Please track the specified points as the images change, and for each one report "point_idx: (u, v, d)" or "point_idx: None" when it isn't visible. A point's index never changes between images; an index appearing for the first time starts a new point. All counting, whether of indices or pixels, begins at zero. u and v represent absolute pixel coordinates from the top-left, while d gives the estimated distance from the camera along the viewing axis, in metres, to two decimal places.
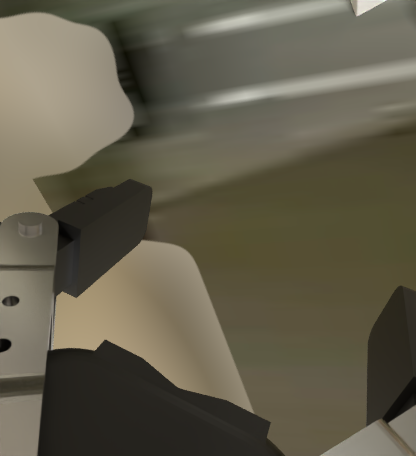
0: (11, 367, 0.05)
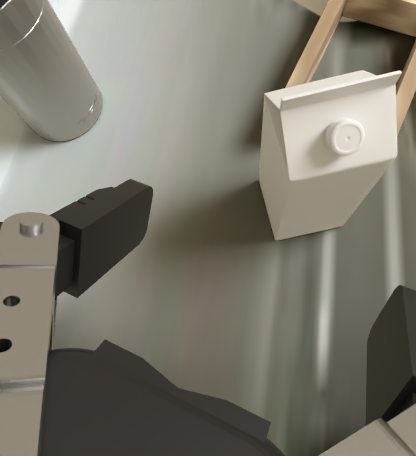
0: (11, 367, 0.05)
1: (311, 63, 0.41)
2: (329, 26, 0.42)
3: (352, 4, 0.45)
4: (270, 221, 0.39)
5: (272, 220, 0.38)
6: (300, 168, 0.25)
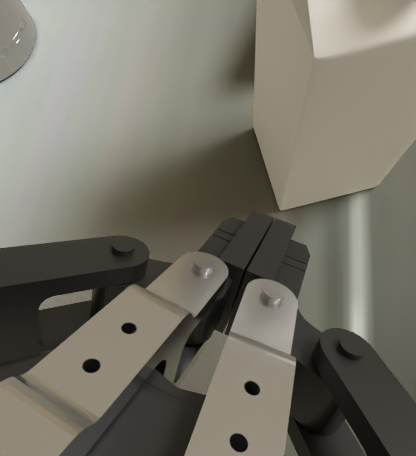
0: (82, 391, 0.05)
1: None
2: None
3: None
4: (272, 182, 0.27)
5: (275, 178, 0.25)
6: (335, 30, 0.13)
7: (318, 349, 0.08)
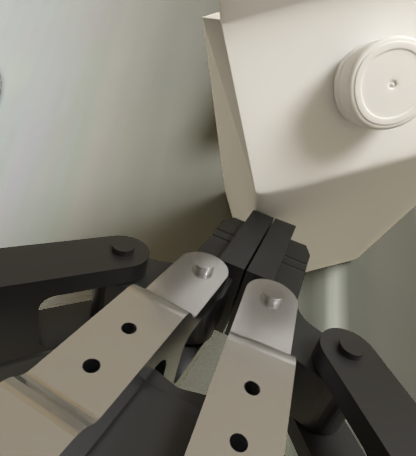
0: (82, 392, 0.05)
1: None
2: None
3: None
4: None
5: None
6: (278, 165, 0.11)
7: (318, 349, 0.08)
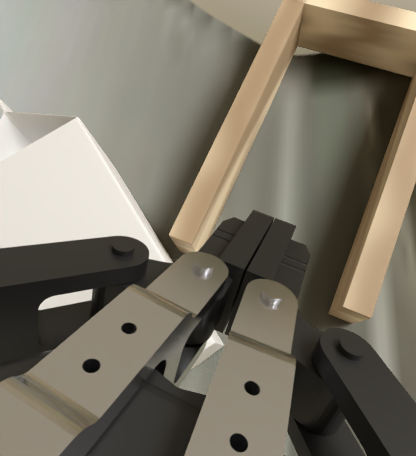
0: (82, 391, 0.05)
1: (241, 132, 0.24)
2: (271, 68, 0.26)
3: (311, 30, 0.29)
4: None
5: None
6: None
7: (318, 349, 0.08)
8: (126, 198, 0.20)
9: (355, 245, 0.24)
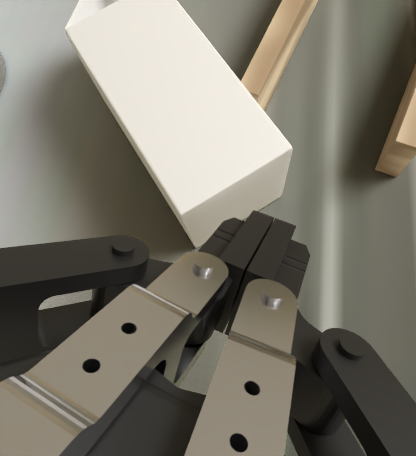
0: (82, 391, 0.05)
1: (300, 5, 0.27)
2: None
3: None
4: None
5: None
6: None
7: (318, 349, 0.08)
8: None
9: (400, 108, 0.27)
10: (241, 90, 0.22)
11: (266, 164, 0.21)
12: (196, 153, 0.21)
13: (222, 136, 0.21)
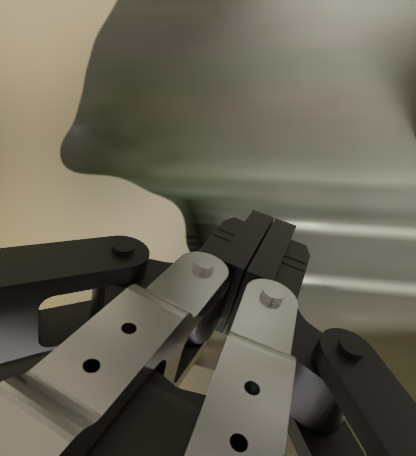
0: (82, 391, 0.05)
1: None
2: None
3: None
4: None
5: None
6: None
7: (318, 349, 0.08)
8: None
9: None
10: None
11: None
12: None
13: None
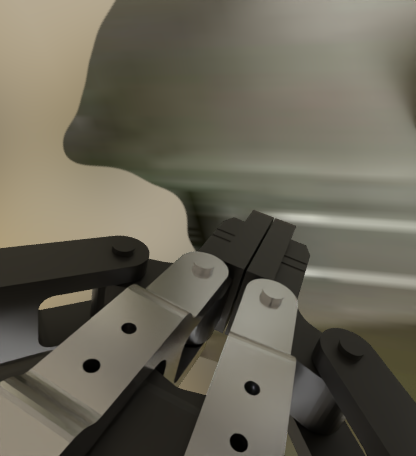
0: (82, 391, 0.05)
1: None
2: None
3: None
4: None
5: None
6: None
7: (318, 349, 0.08)
8: None
9: None
10: None
11: None
12: None
13: None
